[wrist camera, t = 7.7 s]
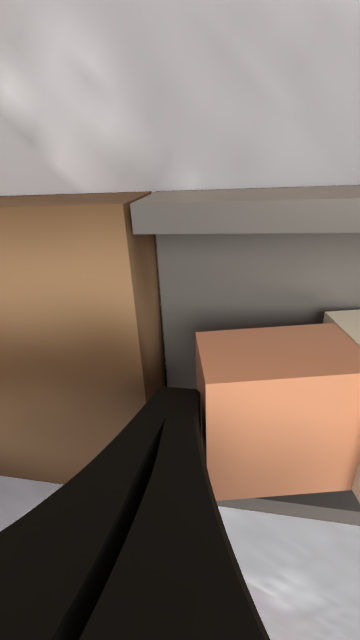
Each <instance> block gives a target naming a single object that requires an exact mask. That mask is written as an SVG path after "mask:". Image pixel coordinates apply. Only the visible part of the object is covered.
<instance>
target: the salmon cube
mask: <svg viewBox="0 0 360 640" xmlns="http://www.w3.org/2000/svg"><path fill="white" fill-rule="evenodd" d="M195 339H196V374H197V390H198V391H199V392H200V401H201V441H202V447H203V452H204V457H205V461H206V466H207V470H208V474H209V478H210V482H211V485H212V489H213V493H214V496H215V499H216V501H221V500H234V499H246V498H259V497H271V496H283V495H296V494H308V493H320V492H333V491H345V490H351V488H352V485H353V481H354V478H355V474H356V471H357V467H358V464H359V460H360V347H359V346H358V345H357V344H356V343H355V342H354V341H353V340H352V339H351V338H350V337H349V336H348V335H347V334H346V333H345V332H344V331H343V330H342V329H341V328H340V327H338V326H337V325H336V324H335V323H324V324H309V325H294V326H279V327H264V328H249V329H234V330H219V331H204V332H195Z"/></svg>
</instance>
